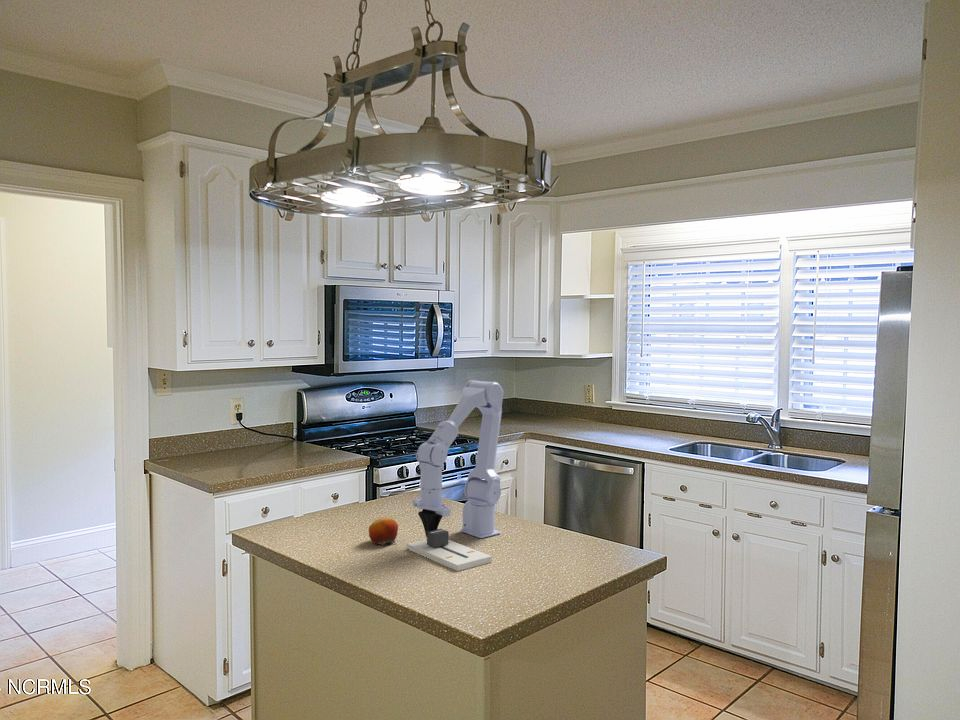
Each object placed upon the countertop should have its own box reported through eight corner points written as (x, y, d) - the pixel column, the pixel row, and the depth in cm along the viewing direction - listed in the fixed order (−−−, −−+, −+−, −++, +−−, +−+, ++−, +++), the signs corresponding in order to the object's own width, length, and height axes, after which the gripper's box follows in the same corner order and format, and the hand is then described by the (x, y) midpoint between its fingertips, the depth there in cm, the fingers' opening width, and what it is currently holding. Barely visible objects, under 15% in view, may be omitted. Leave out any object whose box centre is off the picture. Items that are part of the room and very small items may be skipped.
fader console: (406, 549, 195) (406, 543, 195) (439, 541, 202) (439, 536, 202) (457, 571, 178) (457, 564, 178) (491, 562, 185) (491, 555, 185)
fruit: (383, 545, 194) (374, 516, 197) (369, 554, 199) (361, 526, 202) (408, 539, 199) (399, 511, 202) (394, 548, 205) (385, 521, 207)
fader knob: (426, 544, 194) (426, 531, 193) (440, 541, 197) (440, 528, 196) (434, 547, 191) (434, 534, 191) (448, 544, 194) (448, 531, 194)
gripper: (403, 484, 198) (403, 534, 199) (435, 494, 187) (434, 547, 188) (424, 481, 203) (424, 529, 204) (456, 490, 192) (456, 542, 192)
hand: (430, 537), depth 196 cm, fingers closed
